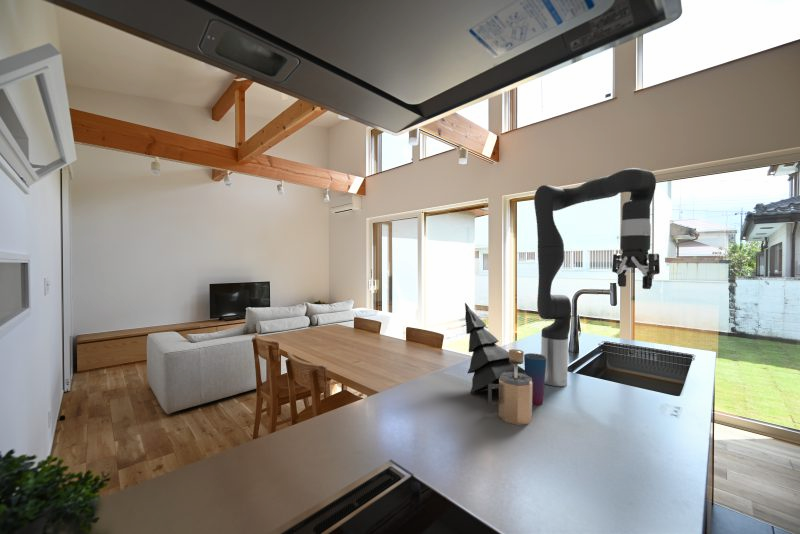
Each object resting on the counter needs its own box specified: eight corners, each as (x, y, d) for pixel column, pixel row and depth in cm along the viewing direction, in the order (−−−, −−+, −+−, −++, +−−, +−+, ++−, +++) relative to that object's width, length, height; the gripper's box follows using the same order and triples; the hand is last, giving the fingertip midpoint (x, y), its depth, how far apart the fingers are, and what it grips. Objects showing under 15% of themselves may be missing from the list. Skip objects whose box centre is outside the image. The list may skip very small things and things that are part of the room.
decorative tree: (505, 397, 121) (469, 311, 138) (534, 384, 110) (490, 292, 128) (474, 405, 114) (439, 313, 131) (501, 392, 103) (460, 294, 120)
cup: (547, 407, 106) (548, 359, 105) (524, 405, 107) (525, 358, 107) (543, 398, 112) (544, 354, 112) (521, 396, 114) (522, 352, 113)
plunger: (505, 410, 100) (506, 349, 100) (517, 409, 101) (518, 349, 101) (512, 416, 96) (513, 353, 96) (525, 415, 97) (526, 352, 97)
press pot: (486, 412, 101) (486, 373, 101) (520, 409, 104) (521, 371, 103) (500, 426, 93) (501, 383, 93) (537, 423, 95) (537, 381, 95)
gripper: (606, 236, 109) (605, 286, 110) (646, 232, 95) (644, 289, 96) (625, 236, 111) (624, 286, 111) (668, 233, 97) (666, 289, 97)
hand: (633, 287), depth 103 cm, fingers open, 8 cm apart
